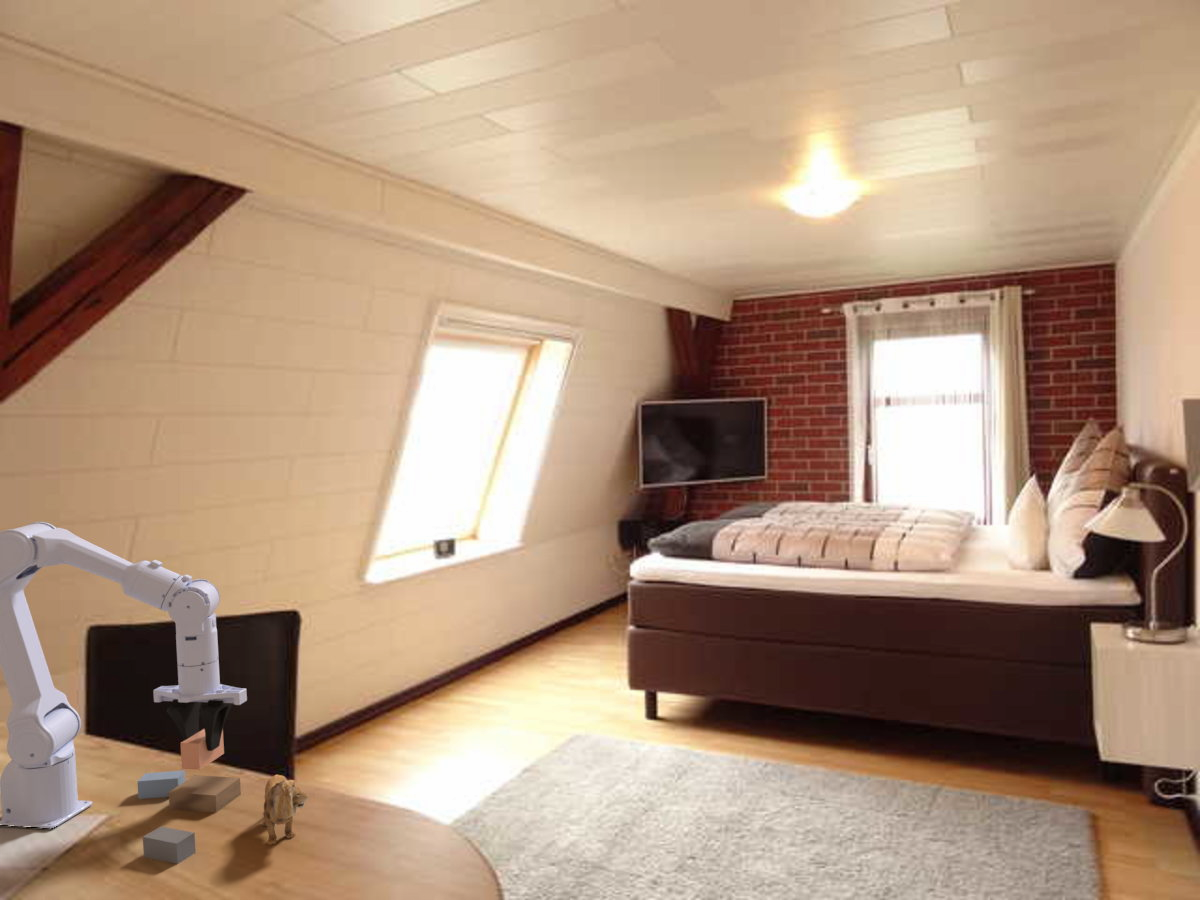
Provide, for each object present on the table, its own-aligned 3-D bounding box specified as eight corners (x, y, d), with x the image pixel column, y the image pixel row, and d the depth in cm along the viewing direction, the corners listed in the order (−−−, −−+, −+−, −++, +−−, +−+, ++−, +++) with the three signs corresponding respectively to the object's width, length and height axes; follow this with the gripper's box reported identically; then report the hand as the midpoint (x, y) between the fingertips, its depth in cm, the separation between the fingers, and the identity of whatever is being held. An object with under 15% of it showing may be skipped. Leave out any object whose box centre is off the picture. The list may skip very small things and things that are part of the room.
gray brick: (143, 858, 115) (142, 836, 114) (162, 847, 117) (161, 826, 117) (177, 865, 113) (176, 843, 112) (195, 854, 115) (194, 832, 115)
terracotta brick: (181, 768, 128) (180, 742, 127) (206, 752, 133) (205, 727, 133) (199, 769, 127) (198, 743, 127) (224, 753, 133) (222, 728, 133)
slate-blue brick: (138, 800, 132) (137, 781, 132) (146, 791, 135) (145, 773, 135) (178, 796, 133) (177, 778, 133) (185, 788, 136) (184, 770, 136)
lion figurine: (312, 844, 117) (309, 781, 116) (272, 857, 114) (269, 791, 113) (286, 805, 129) (283, 747, 128) (249, 815, 126) (246, 756, 125)
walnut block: (169, 811, 128) (168, 792, 128) (195, 793, 134) (194, 774, 134) (216, 814, 127) (215, 795, 127) (240, 796, 133) (239, 777, 133)
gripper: (137, 668, 127) (142, 756, 127) (225, 670, 124) (230, 760, 125) (169, 654, 134) (173, 738, 134) (252, 656, 131) (257, 741, 132)
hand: (202, 747), depth 130 cm, fingers closed on terracotta brick, 3 cm apart
